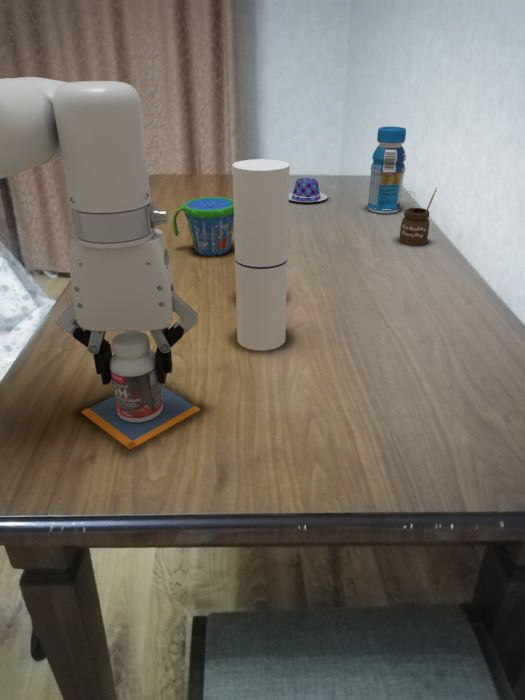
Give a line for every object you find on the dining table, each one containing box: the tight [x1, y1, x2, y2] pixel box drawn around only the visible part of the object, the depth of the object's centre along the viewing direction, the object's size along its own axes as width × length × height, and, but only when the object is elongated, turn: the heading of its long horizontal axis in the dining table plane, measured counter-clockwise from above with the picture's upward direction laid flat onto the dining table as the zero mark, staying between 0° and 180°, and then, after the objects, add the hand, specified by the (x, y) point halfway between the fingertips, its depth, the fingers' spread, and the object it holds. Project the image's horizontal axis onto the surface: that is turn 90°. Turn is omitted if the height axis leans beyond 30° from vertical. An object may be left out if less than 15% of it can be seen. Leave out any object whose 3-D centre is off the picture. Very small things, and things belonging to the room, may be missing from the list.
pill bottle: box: [109, 331, 163, 423], centre depth 62 cm, size 5×5×10 cm
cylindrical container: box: [232, 158, 290, 351], centre depth 74 cm, size 7×7×25 cm
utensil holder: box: [399, 186, 438, 247], centre depth 115 cm, size 6×6×12 cm
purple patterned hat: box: [289, 177, 328, 204], centre depth 149 cm, size 12×12×5 cm
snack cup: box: [172, 196, 234, 257], centre depth 111 cm, size 16×10×10 cm
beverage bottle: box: [367, 126, 407, 215], centre depth 136 cm, size 8×8×20 cm
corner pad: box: [81, 385, 202, 452], centre depth 64 cm, size 10×10×1 cm
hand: (136, 376), depth 62 cm, fingers open, 5 cm apart
